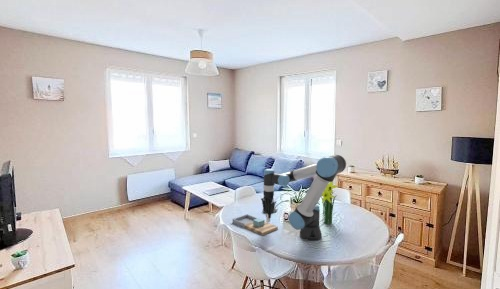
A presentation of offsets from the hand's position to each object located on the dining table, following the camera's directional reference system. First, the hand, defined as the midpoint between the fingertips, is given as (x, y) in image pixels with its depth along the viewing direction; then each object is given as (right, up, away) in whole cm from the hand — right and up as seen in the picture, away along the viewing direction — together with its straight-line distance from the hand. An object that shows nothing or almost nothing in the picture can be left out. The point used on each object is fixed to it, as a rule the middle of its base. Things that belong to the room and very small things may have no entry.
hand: (268, 221), depth 195 cm
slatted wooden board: (-5, -7, +6) cm, 10 cm away
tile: (-7, -5, +7) cm, 11 cm away
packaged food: (+3, -6, +36) cm, 36 cm away
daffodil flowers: (+48, -6, +14) cm, 50 cm away
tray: (-17, -6, +18) cm, 26 cm away
